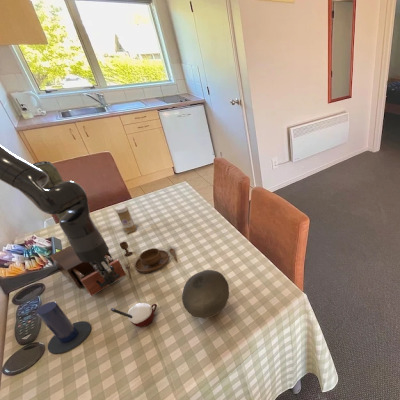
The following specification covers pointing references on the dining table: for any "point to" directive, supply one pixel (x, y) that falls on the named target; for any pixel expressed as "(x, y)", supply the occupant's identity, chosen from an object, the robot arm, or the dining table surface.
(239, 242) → the dining table surface
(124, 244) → the place setting
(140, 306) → the cocoa
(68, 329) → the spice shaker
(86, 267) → the drawer
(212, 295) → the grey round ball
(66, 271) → the cabinet
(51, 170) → the olive carved slab
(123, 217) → the sprinkles bottle
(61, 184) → the robot arm
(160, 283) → the dining table surface
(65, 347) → the mat
